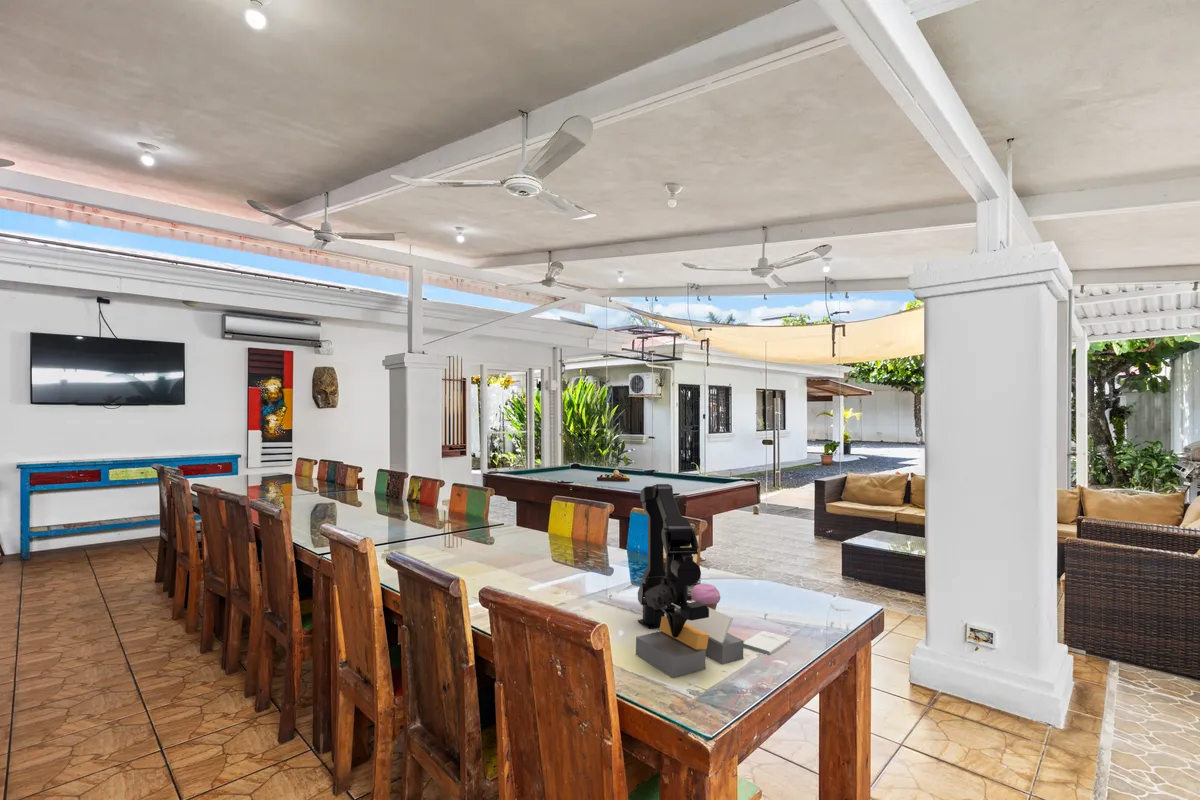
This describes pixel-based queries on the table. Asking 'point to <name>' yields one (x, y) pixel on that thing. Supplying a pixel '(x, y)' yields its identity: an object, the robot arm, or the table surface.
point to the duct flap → (713, 624)
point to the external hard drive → (766, 642)
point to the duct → (685, 653)
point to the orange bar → (687, 634)
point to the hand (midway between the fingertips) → (675, 636)
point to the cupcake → (706, 595)
